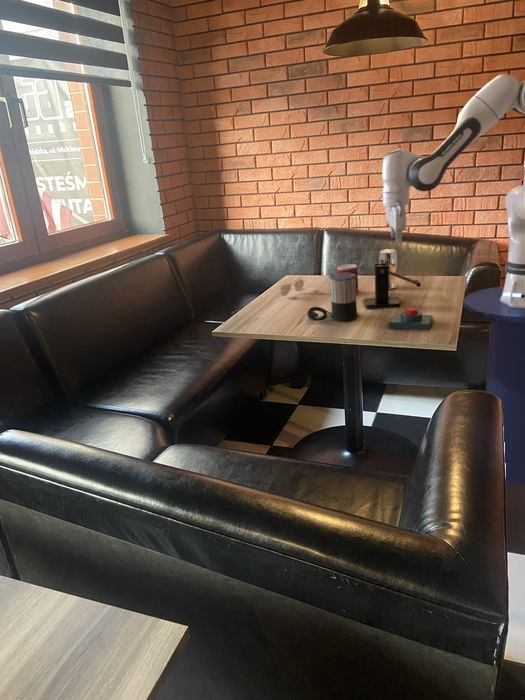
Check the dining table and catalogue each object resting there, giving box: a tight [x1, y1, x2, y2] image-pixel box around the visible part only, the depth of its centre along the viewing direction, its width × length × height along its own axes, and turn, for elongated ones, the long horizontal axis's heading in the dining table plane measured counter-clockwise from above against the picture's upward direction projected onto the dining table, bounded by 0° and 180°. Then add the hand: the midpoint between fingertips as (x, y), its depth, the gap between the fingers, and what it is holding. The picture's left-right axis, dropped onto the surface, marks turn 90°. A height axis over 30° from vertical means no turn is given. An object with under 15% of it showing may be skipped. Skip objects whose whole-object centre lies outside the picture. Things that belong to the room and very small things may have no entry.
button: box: [405, 307, 418, 315], centre depth 171 cm, size 4×4×2 cm
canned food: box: [336, 263, 359, 295], centre depth 214 cm, size 8×8×11 cm
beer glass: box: [378, 248, 398, 290], centre depth 215 cm, size 7×7×15 cm
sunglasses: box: [279, 279, 318, 300], centre depth 219 cm, size 14×8×5 cm, turn 128°
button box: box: [389, 310, 434, 331], centre depth 172 cm, size 12×9×4 cm
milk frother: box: [306, 273, 359, 322], centre depth 185 cm, size 14×16×15 cm
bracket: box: [364, 262, 401, 309], centre depth 195 cm, size 12×9×15 cm
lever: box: [379, 265, 421, 288], centre depth 193 cm, size 16×5×2 cm, turn 84°
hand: (396, 240), depth 188 cm, fingers open, 8 cm apart
